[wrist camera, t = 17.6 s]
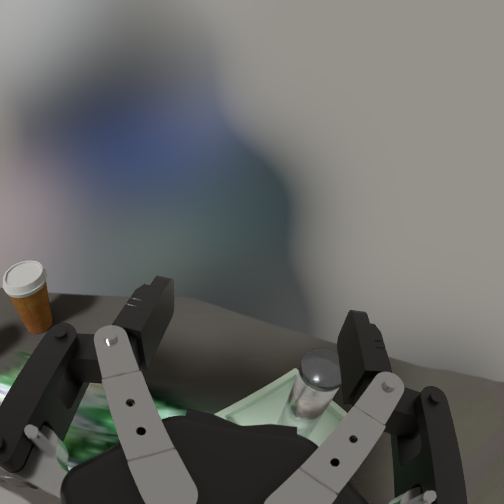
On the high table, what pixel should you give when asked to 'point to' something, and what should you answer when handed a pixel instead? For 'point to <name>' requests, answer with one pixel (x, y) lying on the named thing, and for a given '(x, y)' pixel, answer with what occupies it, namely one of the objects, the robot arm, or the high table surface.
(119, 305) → the high table surface
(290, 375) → the tray
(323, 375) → the canister
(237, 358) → the high table surface
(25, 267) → the disposable coffee cup
